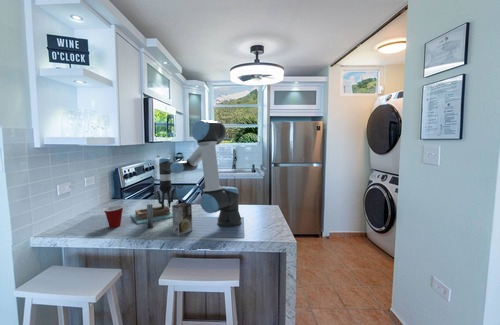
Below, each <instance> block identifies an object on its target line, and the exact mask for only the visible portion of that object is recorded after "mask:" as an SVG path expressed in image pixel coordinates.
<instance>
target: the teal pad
mask: <svg viewBox="0 0 500 325" xmlns="http://www.w3.org/2000/svg"><path fill="white" fill-rule="evenodd" d="M130 217H131V218H132V219H133V221H134V222H135V223H136V225H143V224H148V221H147V219H142V220H138V218H137V217H136V216H135V213H134V214H130ZM169 219H173V213H172V212H171V211H170V214H169V215H164V216H158V217H153V222H157V221H158V222H159V221H163V220H169Z"/></svg>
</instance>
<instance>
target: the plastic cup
mask: <svg viewBox="0 0 500 325" xmlns="http://www.w3.org/2000/svg"><path fill="white" fill-rule="evenodd" d="M123 208H124V205H122V204H117V205H112V206H111V205H110V206H107V207H105V208H103V209H102V210H103V212H104V213H105V216H106V219H107V224H108V227H109V228H110V229H113V228H114V229H115V227H116V228H119V227H121V224H122V217H123V216H122V215H123V210H124V209H123Z"/></svg>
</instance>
